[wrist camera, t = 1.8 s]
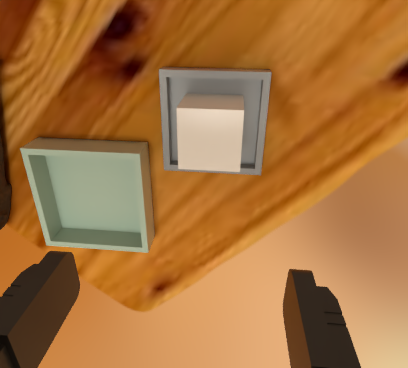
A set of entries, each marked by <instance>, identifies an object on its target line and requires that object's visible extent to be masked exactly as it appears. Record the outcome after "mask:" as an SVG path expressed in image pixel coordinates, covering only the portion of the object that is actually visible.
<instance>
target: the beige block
mask: <svg viewBox="0 0 408 368" xmlns="http://www.w3.org/2000/svg"><path fill="white" fill-rule="evenodd" d="M176 110H177V144H178V169H188V170H208V171H228V172H240V164H241V149H242V135H243V121H244V98H243V95H221V94H190V93H186V94H185V96H184V97H183V99H182V100H181V102H180V103H179V105H178V106H177V108H176Z"/></svg>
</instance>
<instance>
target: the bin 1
mask: <svg viewBox="0 0 408 368" xmlns="http://www.w3.org/2000/svg"><path fill="white" fill-rule="evenodd" d="M20 150H21V154H22V157H23V161H24V165H25V168H26V172H27V176H28V179H29V183H30V187H31V190H32V194H33V197H34V201H35V205H36V208H37V212H38V216H39V219H40V223H41V227H42V230H43V234H44V238H45V241H46V245H49V246H63V247H77V248H91V249H105V250H118V251H132V252H146V253H148V252H149V250H150V247H151V244H152V242H153V239H154V236H155V230H154V217H153V204H152V190H151V177H150V164H149V150H148V142H132V141H110V140H87V139H64V138H42V137H38V138H36V139H34V140H33V141H31V142H30V143H28V144H26V145H25V146H23V147H21V148H20Z"/></svg>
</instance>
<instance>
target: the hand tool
mask: <svg viewBox="0 0 408 368" xmlns="http://www.w3.org/2000/svg"><path fill="white" fill-rule="evenodd" d="M3 151H4V150H3V146H2V142H1V133H0V230H1V229H2V228H3V227H4V226H5V224H6V223H7V220H8V218H9V212H10V206H11V202H10V200H11V184H9V183H8V182H7V181H6V178H5V170H4V152H3Z"/></svg>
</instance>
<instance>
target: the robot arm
mask: <svg viewBox="0 0 408 368" xmlns="http://www.w3.org/2000/svg"><path fill="white" fill-rule="evenodd" d="M79 289H80V282H79V277H78V273H77V268H76V264H75V260H74V256H73V254H72V253H71V252H60V251H50V252H48V253H47V254H46V255H45V257H44V258H43V259H42V260H41V262H40V263H39V264H33V265H32V266H30V267H29V268H27V269H26V270H24V271H23V272H21V274H20V275H19V276H18V277H17V278H16V279H15V280H14V281H13V283H12V284H11V287H8V289H7V290H6V291H5V292H4V294H3V296H2V297H0V368H37V367H38V366H39V364H40V362H41V361H42V359H43V357H44V355H45V354H46V352H47V350H48V348H49V347H50V345H51V343H52V341H53V340H54V338H55V336H56V334H57V333H58V331H59V329H60V327H61V326H62V324H63V322H64V320H65V319H66V316H67V315H68V313H69V312H70V310H71V308H72V306H73V305H74V303H75V301H76V299H77V297H78V294H79ZM283 317H284V324H285V330H286V338H287V344H288V351H289V358H290V365H291V368H361V366H360V363H359V360H358V357H357V355H356V352H355V349H354V346H353V343H352V340H351V337H350V334H349V332H348V329H347V327H346V323H345V320H344V317H343V316H342V311H341V308H340V306H339V303H338V300H337V299H336V297H335V296H334V295H333V294H332V293H331V291H330V290H329V289H328V288H327V287H319V286H316V283H315V280H314V276H313V273H312V271H309V270H296V269H290V270H289V272H288V278H287V283H286V288H285V294H284V300H283Z"/></svg>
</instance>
